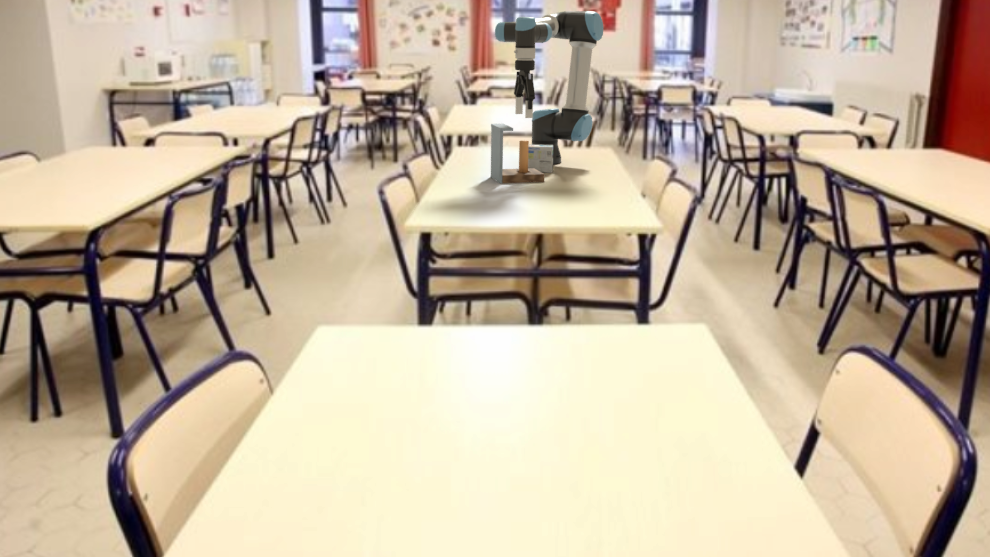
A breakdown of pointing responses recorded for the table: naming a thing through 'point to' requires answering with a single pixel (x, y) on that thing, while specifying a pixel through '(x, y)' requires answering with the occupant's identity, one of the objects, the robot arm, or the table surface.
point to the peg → (523, 156)
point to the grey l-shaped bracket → (497, 150)
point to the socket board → (522, 176)
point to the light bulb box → (541, 157)
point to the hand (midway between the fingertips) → (523, 116)
